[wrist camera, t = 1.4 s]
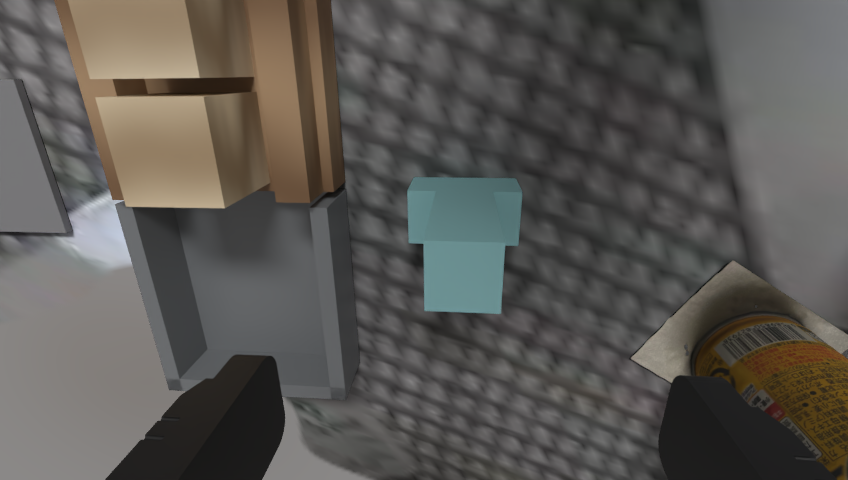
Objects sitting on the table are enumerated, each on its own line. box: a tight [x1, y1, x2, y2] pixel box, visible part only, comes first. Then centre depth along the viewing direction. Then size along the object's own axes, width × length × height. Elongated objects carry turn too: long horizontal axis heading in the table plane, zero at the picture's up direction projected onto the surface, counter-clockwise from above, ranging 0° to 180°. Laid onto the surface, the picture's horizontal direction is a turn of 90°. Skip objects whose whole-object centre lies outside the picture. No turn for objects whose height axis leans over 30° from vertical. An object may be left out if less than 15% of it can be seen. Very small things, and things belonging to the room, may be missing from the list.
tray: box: [115, 189, 360, 400], centre depth 22 cm, size 11×10×3 cm
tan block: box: [95, 92, 270, 208], centre depth 17 cm, size 4×4×4 cm
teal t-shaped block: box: [407, 177, 523, 314], centre depth 17 cm, size 2×5×8 cm, turn 91°
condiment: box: [631, 261, 848, 480], centre depth 17 cm, size 7×8×12 cm
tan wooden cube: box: [68, 0, 254, 79], centre depth 16 cm, size 4×4×4 cm
